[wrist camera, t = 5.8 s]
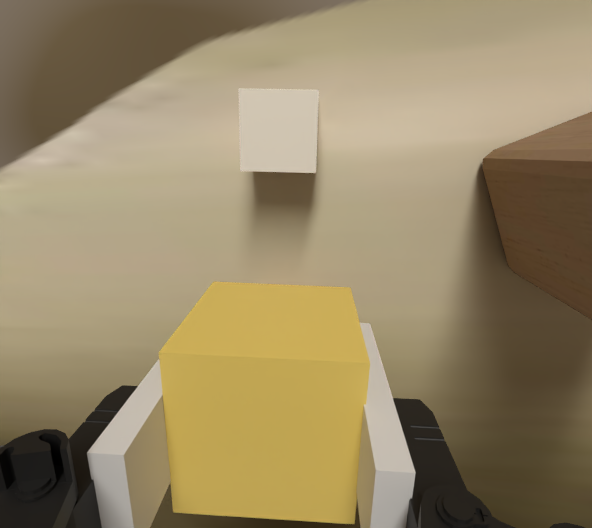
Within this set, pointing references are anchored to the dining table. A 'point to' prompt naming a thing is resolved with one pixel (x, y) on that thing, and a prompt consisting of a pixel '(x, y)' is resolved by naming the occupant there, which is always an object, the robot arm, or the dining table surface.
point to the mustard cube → (266, 403)
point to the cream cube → (278, 130)
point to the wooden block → (547, 209)
